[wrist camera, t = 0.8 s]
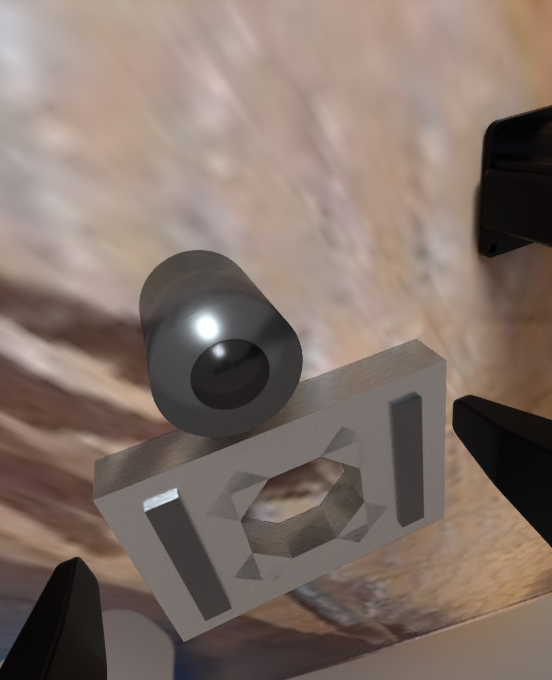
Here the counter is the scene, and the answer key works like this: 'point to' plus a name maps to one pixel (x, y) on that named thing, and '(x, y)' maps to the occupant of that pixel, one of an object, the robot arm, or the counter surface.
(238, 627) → the counter surface
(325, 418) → the jig
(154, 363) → the bushing
